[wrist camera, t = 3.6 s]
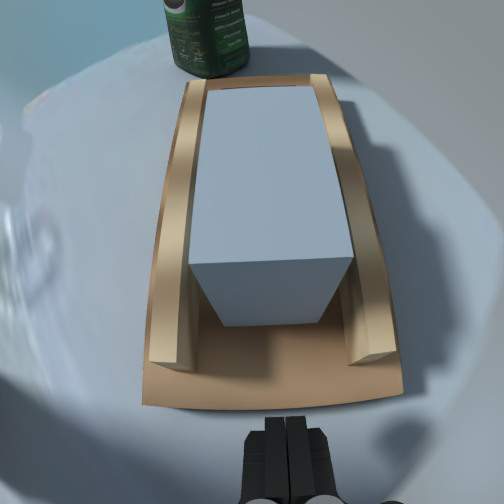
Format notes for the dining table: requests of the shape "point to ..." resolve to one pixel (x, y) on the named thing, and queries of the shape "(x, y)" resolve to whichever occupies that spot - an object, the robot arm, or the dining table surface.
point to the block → (267, 208)
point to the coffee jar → (207, 36)
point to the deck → (268, 336)
